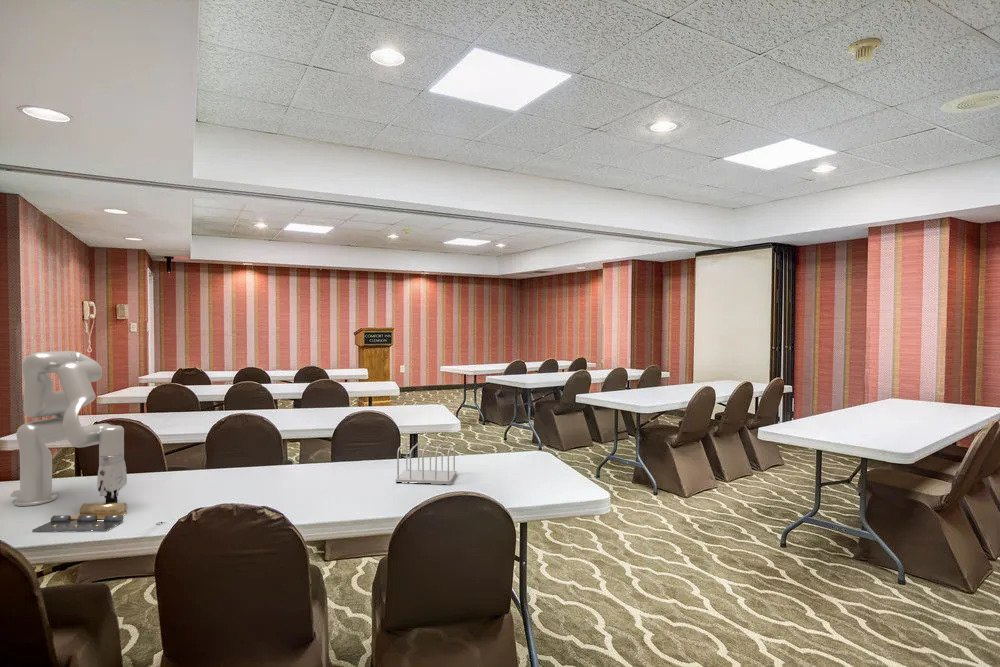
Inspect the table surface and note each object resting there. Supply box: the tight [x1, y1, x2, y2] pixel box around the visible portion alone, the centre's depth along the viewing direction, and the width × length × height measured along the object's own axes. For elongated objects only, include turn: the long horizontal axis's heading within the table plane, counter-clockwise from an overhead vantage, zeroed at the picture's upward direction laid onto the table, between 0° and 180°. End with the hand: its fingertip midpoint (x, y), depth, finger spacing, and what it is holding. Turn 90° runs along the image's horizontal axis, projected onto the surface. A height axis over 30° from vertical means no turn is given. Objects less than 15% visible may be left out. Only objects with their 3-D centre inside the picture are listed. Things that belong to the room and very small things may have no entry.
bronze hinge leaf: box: [70, 502, 128, 521], centre depth 193 cm, size 16×9×4 cm, turn 93°
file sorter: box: [395, 442, 457, 486], centre depth 246 cm, size 25×17×16 cm
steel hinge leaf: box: [31, 514, 124, 533], centre depth 183 cm, size 24×10×3 cm, turn 93°
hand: (111, 507), depth 199 cm, fingers closed
